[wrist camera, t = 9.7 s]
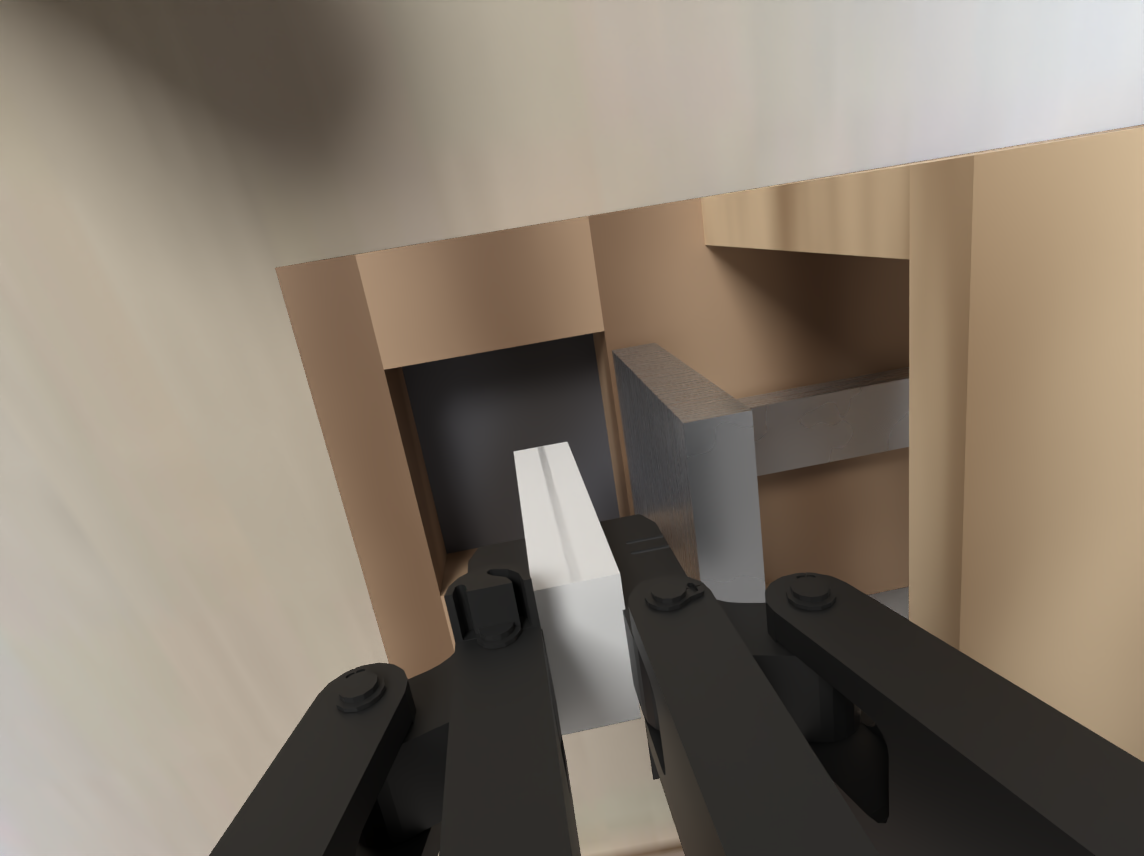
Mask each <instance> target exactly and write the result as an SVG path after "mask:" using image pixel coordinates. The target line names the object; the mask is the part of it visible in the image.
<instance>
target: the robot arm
mask: <svg viewBox="0 0 1144 856" xmlns="http://www.w3.org/2000/svg"><path fill="white" fill-rule="evenodd" d="M514 459H515V466H516V474H517V481H518V489H519V496H520V504H521V511H522V519H523V526H524V534H525V538H523V539H518V540H513V541H508V542H503V543H498V544H493V545H487V546H482V547H479V548H478V549H477V550H476V552H475V553H474V554H473V556H472V557H471V558H470V560H469V561H468V573H466V574H465V575H463V576H461V577H459V578H457V579H456V580H455V581H454V582H453V583H452V584H451V585H450V586H449V587H448V588H447V591H446V593H445V595H444V599H445V603H446V607H447V611H448V615H449V619H450V623H451V628H452V632H453V636H454V640H455V652H454V653H453V654H452V655H451V656H450V657H449V658H448V659H447V660H445V661H444V662H442V663H441V664H440V665H438V666H436V667H434V668H432V669H430V670H428V671H426V672H424V673H421V674H419V675H417V676H414V677H412V678H410V679H408V678H407V676H406V674H405V671H404V670H403V669H401V668H400V667H398V666H396V665H394V664H387V663H375V664H369V665H364V666H360V667H357V668H355V669H352V670H350V671H348V672H346V673H344V674H342V675H341V676H339V677H338V678H336V679H335V680H333V681H332V682H330V683H329V684H328V685H327V686H326V687H325V688H324V689H323V690H322V691H321V692H320V693H319V695H318V696H317V697H316V699H315V700H314V702H313V703H312V704H311V706H310V707H309V709H308V710H307V712H306V713H305V715H304V716H303V718H302V719H301V721H300V722H299V724H298V725H297V727H296V728H295V730H294V731H293V733H292V734H291V735H290V737H289V738H288V740H287V741H286V743H285V744H284V746H283V747H282V749H281V750H280V752H279V753H278V755H277V756H276V758H275V759H274V761H273V762H272V763H271V765H270V766H269V768H268V769H267V771H266V772H265V774H264V775H263V777H262V778H261V780H260V781H259V783H258V784H257V786H256V787H255V789H254V790H253V792H252V793H251V794H250V796H249V797H248V799H247V800H246V802H245V803H244V805H243V806H242V808H241V809H240V811H239V812H238V814H237V815H236V817H235V818H234V820H233V821H232V823H231V824H230V825H229V827H228V828H227V830H226V831H225V833H224V834H223V836H222V837H221V839H220V840H219V842H218V843H217V845H216V846H215V848H214V849H213V851H212V852H211V854H210V855H209V856H438V853H439V856H581V853H580V847H579V840H578V833H577V827H576V820H575V813H574V807H573V800H572V794H571V787H570V780H569V774H568V767H567V760H566V755H565V750H564V745H563V740H562V735H566V734H571V733H575V732H580V731H584V730H589V729H593V728H598V727H603V726H607V725H612V724H616V723H621V722H625V721H630V720H635V719H639V718H641V714H640V707H639V703H640V706H641V709H642V712H643V715H644V718H645V725H646V732H647V739H648V746H649V753H650V760H651V767H652V774H653V780H654V779H659V778H660V780H661V783H662V786H663V789H664V793H665V796H666V799H667V802H668V805H669V808H670V811H671V814H672V817H673V820H674V823H675V826H676V829H677V832H678V835H679V839H680V842H681V845H682V848H683V851H684V854H685V856H1144V762H1143V761H1141V760H1139V759H1138V758H1136V757H1134V756H1133V755H1131V754H1129V753H1128V752H1126V751H1124V750H1123V749H1121V748H1119V747H1118V746H1116V745H1114V744H1113V743H1111V742H1110V741H1108V740H1106V739H1105V738H1103V737H1101V736H1100V735H1098V734H1096V733H1095V732H1093V731H1091V730H1090V729H1088V728H1086V727H1085V726H1083V725H1081V724H1080V723H1078V722H1076V721H1075V720H1073V719H1071V718H1070V717H1068V716H1067V715H1065V714H1063V713H1062V712H1060V711H1058V710H1057V709H1055V708H1053V707H1052V706H1050V705H1048V704H1047V703H1045V702H1043V701H1042V700H1040V699H1038V698H1037V697H1035V696H1033V695H1032V694H1030V693H1028V692H1027V691H1025V690H1023V689H1022V688H1020V687H1019V686H1017V685H1015V684H1014V683H1012V682H1010V681H1009V680H1007V679H1005V678H1004V677H1002V676H1000V675H999V674H997V673H995V672H994V671H992V670H990V669H989V668H987V667H985V666H984V665H982V664H980V663H979V662H977V661H975V660H974V659H972V658H971V657H969V656H967V655H966V654H964V653H962V652H961V651H959V650H957V649H956V648H954V647H952V646H951V645H949V644H947V643H946V642H944V641H942V640H941V639H939V638H937V637H936V636H934V635H932V634H931V633H929V632H928V631H926V630H924V629H923V628H921V627H919V626H918V625H916V624H914V623H913V622H911V621H909V620H908V619H906V618H904V617H903V616H901V615H899V614H898V613H896V612H894V611H893V610H891V609H889V608H888V607H886V606H884V605H883V604H881V603H880V602H878V601H876V600H875V599H873V598H871V597H870V596H868V595H866V594H865V593H863V592H861V591H860V590H858V589H856V588H855V587H853V586H851V585H850V584H848V583H846V582H844V581H842V580H840V579H837V578H835V577H833V576H829V575H824V574H818V573H812V572H806V573H804V572H803V573H795V574H791V575H787V576H782V577H780V578H778V579H777V580H775V581H773V582H772V583H770V584H769V586H768V588H767V589H766V591H765V603H736V602H726V601H721V600H717V599H716V598H715V596H714V595H713V593H712V591H711V590H710V589H709V588H708V587H707V586H706V585H705V584H704V583H703V582H701V581H698V580H696V579H693V578H691V577H688V576H687V575H686V573H685V571H684V570H683V568H682V566H681V565H680V563H679V561H678V559H677V558H676V556H675V554H674V553H673V551H672V549H671V548H670V547H669V544H668V543H667V541H666V539H665V538H664V537H663V534H662V532H661V531H660V529H659V527H658V526H657V524H656V522H654V521H652V520H650V519H648V518H646V517H645V516H643V515H641V514H636V515H631V516H626V517H621V518H616V519H611V520H606V521H601V522H599V520H598V517H597V515H596V512H595V510H594V507H593V504H592V502H591V499H590V497H589V494H588V492H587V489H586V487H585V484H584V482H583V479H582V477H581V474H580V472H579V469H578V467H577V464H576V462H575V459H574V457H573V454H572V452H571V449H570V447H569V444H568V442H562V443H557V444H552V445H546V446H541V447H535V448H530V449H524V450H519V451H514Z"/></svg>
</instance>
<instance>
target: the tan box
mask: <svg viewBox="0 0 1144 856" xmlns="http://www.w3.org/2000/svg"><path fill="white" fill-rule="evenodd" d="M701 204H702V215H703V227H704V238H705V245H713V246H727V247H741V248H755V249H769V250H783V251H798V252H812V253H826V254H840V255H854V256H868V257H882V258H896V259H909V621H911V622H913V623H914V624H916V625H918V626H919V627H921V628H923V629H924V630H926V631H928V632H929V633H931V634H932V635H934V636H936V637H937V638H939V639H941V640H942V641H944V642H946V643H947V644H949V645H951V646H952V647H954V648H956V649H957V650H959V651H961V652H962V653H964V654H966V655H967V656H969V657H971V658H972V659H974V660H975V661H977V662H979V663H980V664H982V665H984V666H985V667H987V668H989V669H990V670H992V671H994V672H995V673H997V674H999V675H1000V676H1002V677H1004V678H1005V679H1007V680H1009V681H1010V682H1012V683H1014V684H1015V685H1017V686H1019V687H1020V688H1022V689H1023V690H1025V691H1027V692H1028V693H1030V694H1032V695H1033V696H1035V697H1037V698H1038V699H1040V700H1042V701H1043V702H1045V703H1047V704H1048V705H1050V706H1052V707H1053V708H1055V709H1057V710H1058V711H1060V712H1062V713H1063V714H1065V715H1067V716H1068V717H1070V718H1071V719H1073V720H1075V721H1076V722H1078V723H1080V724H1081V725H1083V726H1085V727H1086V728H1088V729H1090V730H1091V731H1093V732H1095V733H1096V734H1098V735H1100V736H1101V737H1103V738H1105V739H1106V740H1108V741H1110V742H1111V743H1113V744H1114V745H1116V746H1118V747H1119V748H1121V749H1123V750H1124V751H1126V752H1128V753H1129V754H1131V755H1133V756H1134V757H1136V758H1138V759H1139V760H1141V761H1143V762H1144V125H1142V126H1135V127H1129V128H1123V129H1117V130H1111V131H1104V132H1098V133H1092V134H1086V135H1080V136H1073V137H1067V138H1061V139H1055V140H1049V141H1043V142H1037V143H1031V144H1024V145H1018V146H1012V147H1006V148H1000V149H994V150H988V151H982V152H976V153H970V154H964V155H958V156H952V157H945V158H939V159H933V160H927V161H921V162H915V163H909V164H903V165H897V166H891V167H885V168H879V169H873V170H867V171H860V172H854V173H848V174H842V175H836V176H830V177H824V178H818V179H812V180H806V181H800V182H794V183H788V184H782V185H775V186H769V187H763V188H757V189H751V190H745V191H739V192H733V193H727V194H721V195H715V196H709V197H703V198H701ZM770 583H772V582H769V583H765V589H767V588H768V586H769V584H770Z"/></svg>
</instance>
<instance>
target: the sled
mask: <svg viewBox="0 0 1144 856" xmlns="http://www.w3.org/2000/svg"><path fill="white" fill-rule="evenodd" d="M612 356H613V363H614V370H615V377H616V384H617V391H618V399H619V406H620V413H621V420H622V427H623V434H624V442H625V449H626V456H627V463H628V470H629V477H630V485H631V492H632V499H633V506H634V513H635V515H636V514H641V515H643V516H645V517H646V518H648V519H650V520H652V521H654V522H656V524H657V526H658V527H659V529H660V531H661V532H662V534H663V537H664V538H665V539H666V541H667V543H668V544H669V547H670V548H671V549H672V551H673V553H674V554H675V556H676V558H677V559H678V561H679V563H680V565H681V566H682V568H683V570H684V571H685V573H686V575H687V576H688V577H691V578H693V579H696V580H698V581H701V582H703V583H704V584H705V585H706V586H707V587H708V588H709V589H710V590H711V591H712V593H713V595H714V596H715V598H716V599H717V600H721V601H726V602H736V603H765V591H766V589H765V575H764V562H763V548H762V535H761V522H760V508H759V495H758V482H757V476H761V475H766V474H771V473H776V472H781V471H786V470H792V469H797V468H802V467H807V466H812V465H818V464H823V463H828V462H833V461H838V460H843V459H849V458H854V457H859V456H864V455H869V454H874V453H880V452H885V451H890V450H895V449H900V448H905V447H909V367H906V368H901V369H895V370H890V371H884V372H879V373H874V374H868V375H863V376H857V377H852V378H847V379H841V380H836V381H830V382H825V383H820V384H814V385H809V386H803V387H798V388H793V389H787V390H782V391H776V392H771V393H766V394H760V395H755V396H750V397H744V398H739V399H735V398H734V397H732V396H731V395H730V394H728V393H727V392H725V391H724V390H722V389H721V388H719V387H718V386H717V385H715V384H714V383H712V382H711V381H709V380H708V379H707V378H705V377H704V376H702V375H701V374H699V373H698V372H697V371H695V370H694V369H692V368H691V367H689V366H688V365H686V364H685V363H684V362H682V361H681V360H679V359H678V358H676V357H675V356H674V355H672V354H671V353H669V352H668V351H666V350H665V349H664V348H662V347H661V346H659V345H658V344H656V343H650V344H644V345H639V346H633V347H627V348H622V349H616V350H612Z"/></svg>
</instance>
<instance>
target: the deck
mask: <svg viewBox="0 0 1144 856" xmlns="http://www.w3.org/2000/svg"><path fill="white" fill-rule="evenodd" d="M1138 126H1142V125H1138ZM1132 127H1135V126H1132ZM1126 128H1129V127H1126ZM1120 129H1123V128H1120ZM1114 130H1117V129H1114ZM1108 131H1111V130H1108ZM1102 132H1104V131H1102ZM1096 133H1098V132H1096ZM1090 134H1092V133H1090ZM1083 135H1086V134H1083ZM1077 136H1080V135H1077ZM1071 137H1073V136H1071ZM1065 138H1067V137H1065ZM1059 139H1061V138H1059ZM1053 140H1055V139H1053ZM1047 141H1049V140H1047ZM1041 142H1043V141H1041ZM1035 143H1037V142H1035ZM1029 144H1031V143H1029ZM1023 145H1024V144H1023ZM1017 146H1018V145H1017ZM1011 147H1012V146H1011ZM1005 148H1006V147H1005ZM998 149H1000V148H998ZM992 150H994V149H992ZM986 151H988V150H986ZM980 152H982V151H980ZM974 153H976V152H974ZM968 154H970V153H968ZM962 155H964V154H962ZM956 156H958V155H956ZM950 157H952V156H950ZM944 158H945V157H944ZM938 159H939V158H938ZM932 160H933V159H932ZM926 161H927V160H926ZM919 162H921V161H919ZM913 163H915V162H913ZM907 164H909V163H907ZM901 165H903V164H901ZM895 166H897V165H895ZM889 167H891V166H889ZM883 168H885V167H883ZM877 169H879V168H877ZM871 170H873V169H871ZM865 171H867V170H865ZM859 172H860V171H859ZM853 173H854V172H853ZM847 174H848V173H847ZM841 175H842V174H841ZM834 176H836V175H834ZM828 177H830V176H828ZM822 178H824V177H822ZM816 179H818V178H816ZM810 180H812V179H810ZM804 181H806V180H804ZM798 182H800V181H798ZM792 183H794V182H792ZM786 184H788V183H786ZM780 185H782V184H780ZM774 186H775V185H774ZM768 187H769V186H768ZM762 188H763V187H762ZM755 189H757V188H755ZM749 190H751V189H749ZM743 191H745V190H743ZM737 192H739V191H737ZM731 193H733V192H731ZM725 194H727V193H725ZM719 195H721V194H719ZM713 196H715V195H713ZM707 197H709V196H707ZM701 198H703V197H701ZM701 198H695V199H689V200H683V201H677V202H670V203H664V204H658V205H652V206H646V207H640V208H634V209H628V210H622V211H616V212H610V213H604V214H598V215H591V216H585V217H579V218H573V219H567V220H561V221H555V222H549V223H543V224H537V225H531V226H525V227H519V228H513V229H506V230H500V231H494V232H488V233H482V234H476V235H470V236H464V237H458V238H452V239H446V240H440V241H434V242H427V243H421V244H415V245H409V246H403V247H397V248H391V249H385V250H379V251H373V252H367V253H361V254H355V255H349V256H342V257H336V258H330V259H324V260H318V261H312V262H306V263H300V264H295V265H289V266H283V267H277V268H275V269H276V273H277V276H278V280H279V283H280V287H281V290H282V294H283V297H284V301H285V304H286V308H287V311H288V315H289V318H290V322H291V325H292V328H293V332H294V335H295V339H296V342H297V346H298V349H299V353H300V356H301V360H302V363H303V367H304V370H305V374H306V377H307V381H308V384H309V387H310V391H311V394H312V398H313V401H314V405H315V408H316V412H317V415H318V419H319V422H320V426H321V429H322V433H323V436H324V439H325V443H326V446H327V450H328V453H329V457H330V460H331V464H332V467H333V471H334V474H335V478H336V481H337V485H338V488H339V492H340V495H341V498H342V502H343V505H344V509H345V512H346V516H347V519H348V523H349V526H350V530H351V533H352V537H353V540H354V544H355V547H356V551H357V554H358V557H359V561H360V564H361V568H362V571H363V575H364V578H365V582H366V585H367V589H368V592H369V596H370V599H371V603H372V606H373V609H374V613H375V616H376V620H377V623H378V627H379V630H380V634H381V637H382V641H383V644H384V648H385V651H386V655H387V658H388V662H389V664H394V665H396V666H398V667H400V668H401V669H403V670H404V671H405V674H406V676H407V678H408V679H410V678H412V677H414V676H417V675H419V674H421V673H424V672H426V671H428V670H430V669H432V668H434V667H436V666H438V665H440V664H441V663H442V662H444V661H445V660H447V659H448V658H449V657H450V656H451V655H452V654H453V653H454V652H455V640H454V636H453V632H452V628H451V623H450V619H449V615H448V611H447V607H446V603H445V599H444V595H445V593H446V591H447V588H448V587H449V586H450V585H451V584H452V583H453V582H454V581H455V580H456V579H457V578H459V577H461V576H463V575H465V574H466V573H468V561H469V560H470V558H471V557H472V556H473V554H474V553H475V552H476V550H477V549H478V548H479V547H482V546H487V545H493V544H498V543H503V542H508V541H513V540H518V539H523V538H525V534H524V526H523V519H522V511H521V504H520V496H519V489H518V481H517V474H516V466H515V459H514V451H519V450H524V449H530V448H535V447H541V446H546V445H552V444H557V443H562V442H568V444H569V447H570V449H571V452H572V454H573V457H574V459H575V462H576V464H577V467H578V469H579V472H580V474H581V477H582V479H583V482H584V484H585V487H586V489H587V492H588V494H589V497H590V499H591V502H592V504H593V507H594V510H595V512H596V515H597V517H598V520H599V522H601V521H606V520H611V519H616V518H621V517H626V516H631V515H635V513H634V506H633V499H632V492H631V485H630V477H629V470H628V463H627V456H626V449H625V442H624V434H623V427H622V420H621V413H620V406H619V399H618V391H617V384H616V377H615V370H614V363H613V356H612V350H616V349H622V348H627V347H633V346H639V345H644V344H650V343H656V344H658V345H659V346H661V347H662V348H664V349H665V350H666V351H668V352H669V353H671V354H672V355H674V356H675V357H676V358H678V359H679V360H681V361H682V362H684V363H685V364H686V365H688V366H689V367H691V368H692V369H694V370H695V371H697V372H698V373H699V374H701V375H702V376H704V377H705V378H707V379H708V380H709V381H711V382H712V383H714V384H715V385H717V386H718V387H719V388H721V389H722V390H724V391H725V392H727V393H728V394H730V395H731V396H732V397H734V398H735V399H739V398H744V397H750V396H755V395H760V394H766V393H771V392H776V391H782V390H787V389H793V388H798V387H803V386H809V385H814V384H820V383H825V382H830V381H836V380H841V379H847V378H852V377H857V376H863V375H868V374H874V373H879V372H884V371H890V370H895V369H901V368H906V367H909V259H896V258H882V257H868V256H854V255H840V254H826V253H812V252H798V251H783V250H769V249H755V248H741V247H727V246H713V245H705V238H704V227H703V215H702V204H701ZM757 482H758V495H759V508H760V522H761V535H762V548H763V562H764V575H765V583H769V582H773V581H775V580H777V579H778V578H780V577H782V576H787V575H791V574H795V573H803V572H804V573H806V572H812V573H818V574H824V575H829V576H833V577H835V578H837V579H840V580H842V581H844V582H846V583H848V584H850V585H851V586H853V587H855V588H856V589H858V590H860V591H861V592H863V593H865V594H866V595H870V594H875V593H880V592H884V591H889V590H894V589H899V588H904V587H908V586H909V447H905V448H900V449H895V450H890V451H885V452H880V453H874V454H869V455H864V456H859V457H854V458H849V459H843V460H838V461H833V462H828V463H823V464H818V465H812V466H807V467H802V468H797V469H792V470H786V471H781V472H776V473H771V474H766V475H761V476H757Z"/></svg>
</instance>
